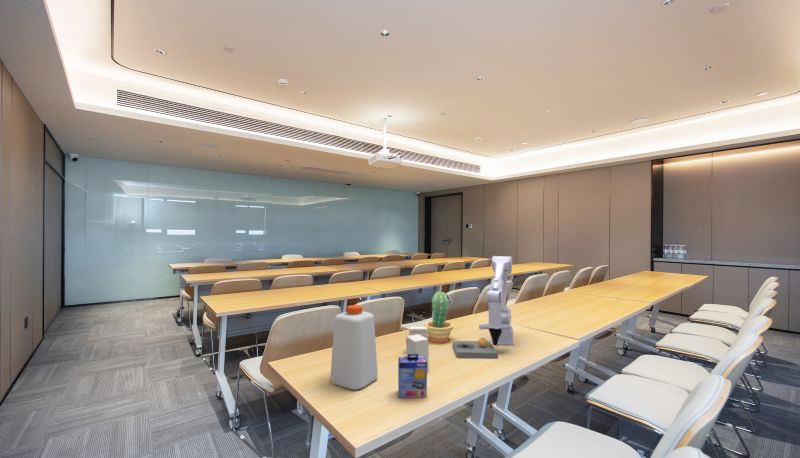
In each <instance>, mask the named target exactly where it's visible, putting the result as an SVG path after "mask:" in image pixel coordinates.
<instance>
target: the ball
mask: <svg viewBox="0 0 800 458" xmlns="http://www.w3.org/2000/svg"><path fill="white" fill-rule="evenodd" d="M477 341H478V344H479V345H480V346H481V347H485V346H486V345H487V341H488V340H487V339H486V338H484V337H481V338H479V339H478V340H477Z"/></svg>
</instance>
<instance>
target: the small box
mask: <svg viewBox="0 0 800 458" xmlns="http://www.w3.org/2000/svg"><path fill="white" fill-rule="evenodd" d="M405 338H406V339H405V340H406V341H405V344H406V347H405V351H406V352H405V354H406V355H405V357H408V354H418V356H425V358H426V360H427V373H428V372H429V338H428V339H427V338H425V337H423V336H421V335H419V334H417V335H410V336H409V335H406V337H405ZM409 357H414V355H413V356H409ZM415 357H416V356H415Z"/></svg>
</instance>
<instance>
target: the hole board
mask: <svg viewBox="0 0 800 458" xmlns="http://www.w3.org/2000/svg"><path fill="white" fill-rule="evenodd" d="M486 341H487V345H486V346H485V347H481V346H480V345H479V344H478V340H452V348H453V351H454V353H455V357H456V359H498V357H499V354H498V353H499V352H498V351H497V349H496V348H495V347H494V345H493V343H491V341H489V340H486Z"/></svg>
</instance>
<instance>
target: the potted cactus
mask: <svg viewBox="0 0 800 458" xmlns="http://www.w3.org/2000/svg"><path fill="white" fill-rule="evenodd" d="M450 305H452V298H451V296H450V294H448V293H447V292H446V293H445V291H440V290H439V291H436V292H435V293H434V294H433V296H432V298H431V308H432V320H429V321H427V322H424V324H423V327H427V329H428V336H429V337H430V339H429V340H430V341H431V342H433V343H439V344H441V343H442V344H443V343H447V342H448V338H449V336H450V334H451V332H452V330H454V329H453V328H454V324H453V323H452V322H451V321H450V322H449V321H446V318H447V317H446V316H447V313H448V311H449V307H450Z"/></svg>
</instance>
